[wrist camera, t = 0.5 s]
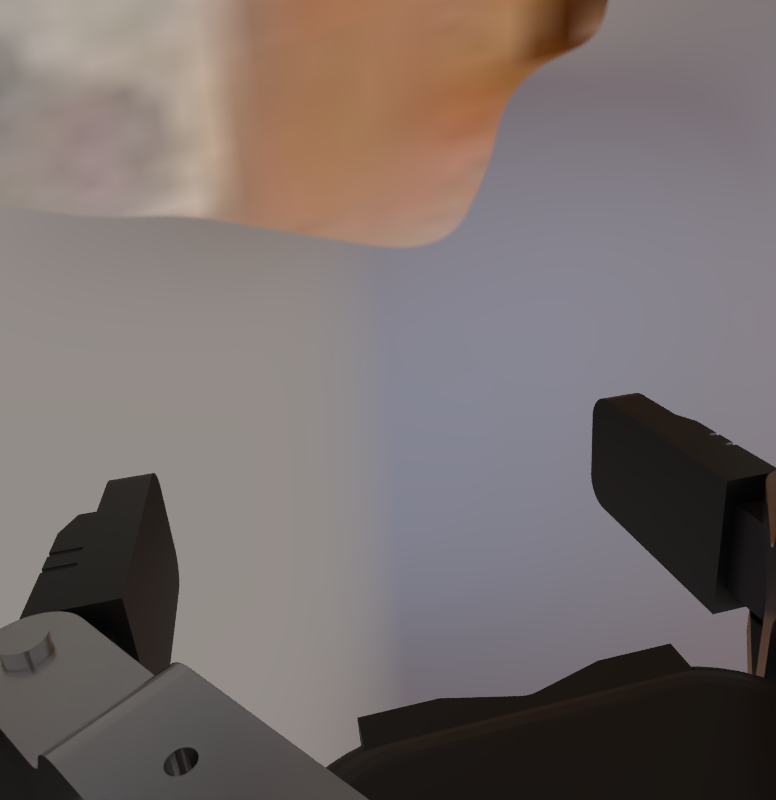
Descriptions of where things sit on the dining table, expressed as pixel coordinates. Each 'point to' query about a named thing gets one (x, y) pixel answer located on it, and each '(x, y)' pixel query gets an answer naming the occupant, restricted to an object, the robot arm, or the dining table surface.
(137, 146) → the dining table surface
